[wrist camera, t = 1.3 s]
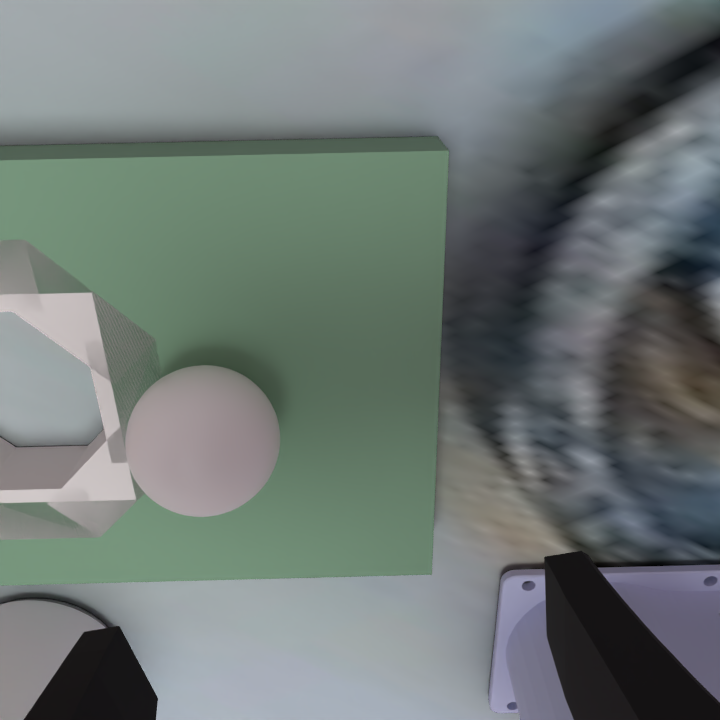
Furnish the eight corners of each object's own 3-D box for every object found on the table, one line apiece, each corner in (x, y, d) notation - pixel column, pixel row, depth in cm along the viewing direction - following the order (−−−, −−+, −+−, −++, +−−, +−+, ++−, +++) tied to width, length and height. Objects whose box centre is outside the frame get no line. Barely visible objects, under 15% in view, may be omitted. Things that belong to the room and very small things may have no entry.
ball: (281, 338, 19) (265, 413, 15) (290, 456, 20) (278, 548, 17) (138, 342, 18) (87, 417, 15) (160, 459, 20) (120, 552, 17)
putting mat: (437, 136, 18) (448, 150, 16) (424, 527, 25) (431, 574, 23) (-210, 150, 18) (-285, 166, 16) (-58, 539, 25) (-97, 588, 22)
